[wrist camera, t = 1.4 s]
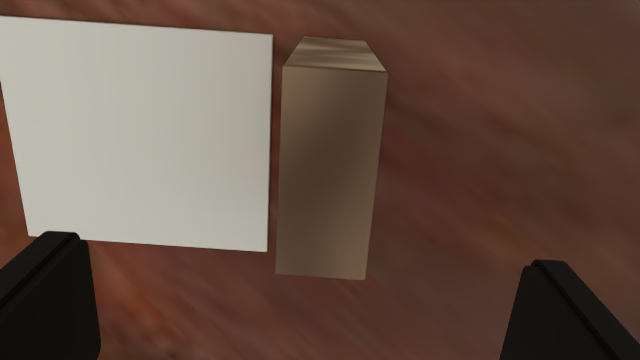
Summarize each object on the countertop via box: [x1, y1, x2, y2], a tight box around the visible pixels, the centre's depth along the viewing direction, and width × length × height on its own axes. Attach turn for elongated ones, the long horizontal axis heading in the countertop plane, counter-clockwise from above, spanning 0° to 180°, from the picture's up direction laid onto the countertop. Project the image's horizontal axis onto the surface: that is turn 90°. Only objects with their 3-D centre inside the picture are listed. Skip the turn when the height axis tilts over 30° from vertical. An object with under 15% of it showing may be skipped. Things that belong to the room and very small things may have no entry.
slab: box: [275, 36, 389, 280], centre depth 23 cm, size 4×8×12 cm, turn 176°
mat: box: [0, 15, 273, 252], centre depth 29 cm, size 16×14×1 cm
